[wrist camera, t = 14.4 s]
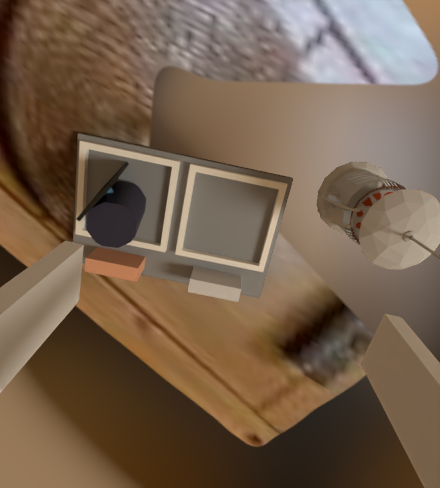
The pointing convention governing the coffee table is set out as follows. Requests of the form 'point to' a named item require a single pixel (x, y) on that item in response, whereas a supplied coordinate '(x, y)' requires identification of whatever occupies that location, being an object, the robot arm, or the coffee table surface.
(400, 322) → the robot arm
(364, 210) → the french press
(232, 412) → the coffee table surface
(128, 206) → the speaker
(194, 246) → the dock board
